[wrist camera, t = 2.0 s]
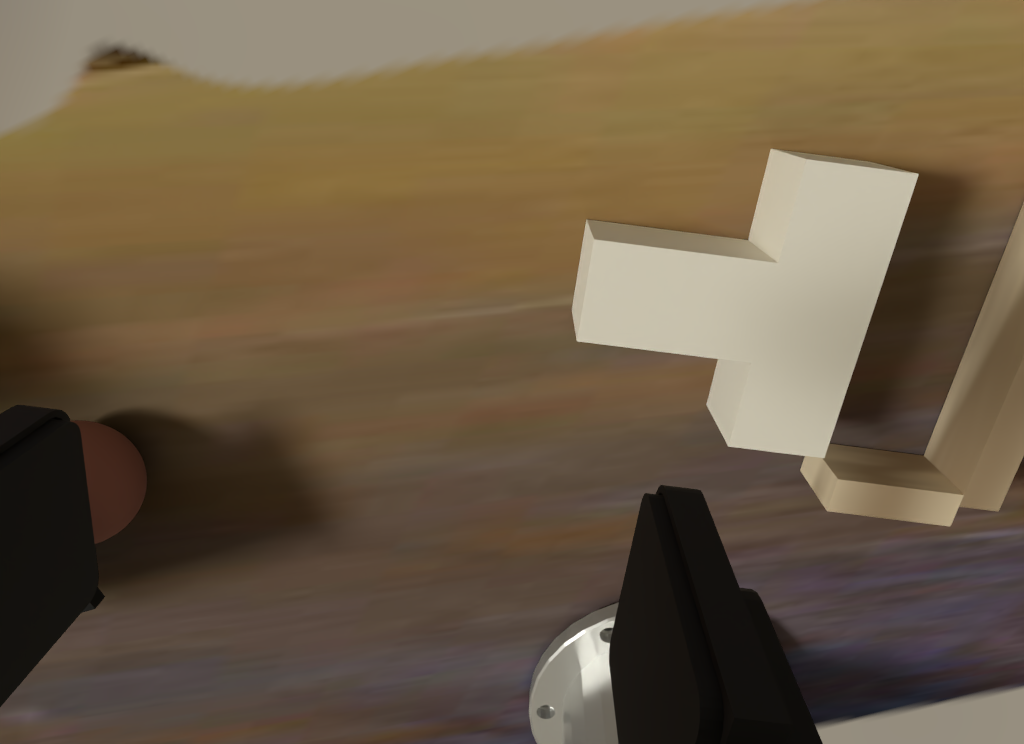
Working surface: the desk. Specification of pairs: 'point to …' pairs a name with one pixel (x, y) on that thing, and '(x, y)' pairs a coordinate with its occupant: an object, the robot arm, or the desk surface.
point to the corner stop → (949, 426)
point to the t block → (758, 295)
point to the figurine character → (111, 482)
